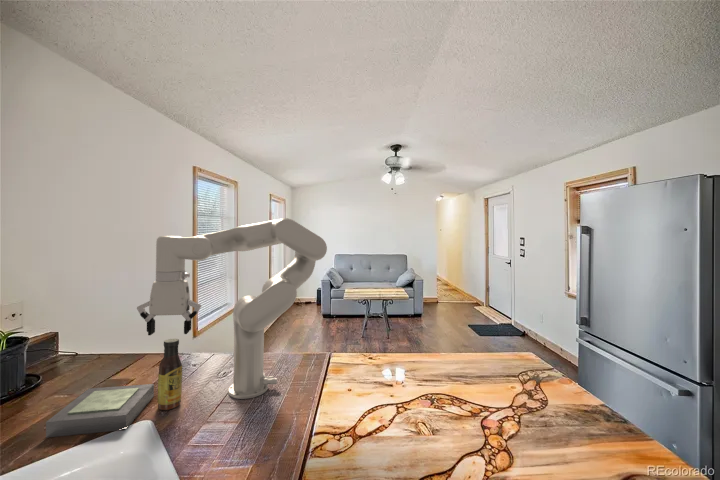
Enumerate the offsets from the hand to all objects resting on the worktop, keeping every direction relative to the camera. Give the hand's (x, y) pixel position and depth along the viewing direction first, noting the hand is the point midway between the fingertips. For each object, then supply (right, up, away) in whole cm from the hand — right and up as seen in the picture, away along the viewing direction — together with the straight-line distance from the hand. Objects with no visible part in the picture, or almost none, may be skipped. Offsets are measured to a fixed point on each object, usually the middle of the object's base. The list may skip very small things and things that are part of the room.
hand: (169, 333), depth 98 cm
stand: (-15, -22, -5) cm, 27 cm away
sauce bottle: (0, -22, +1) cm, 22 cm away
